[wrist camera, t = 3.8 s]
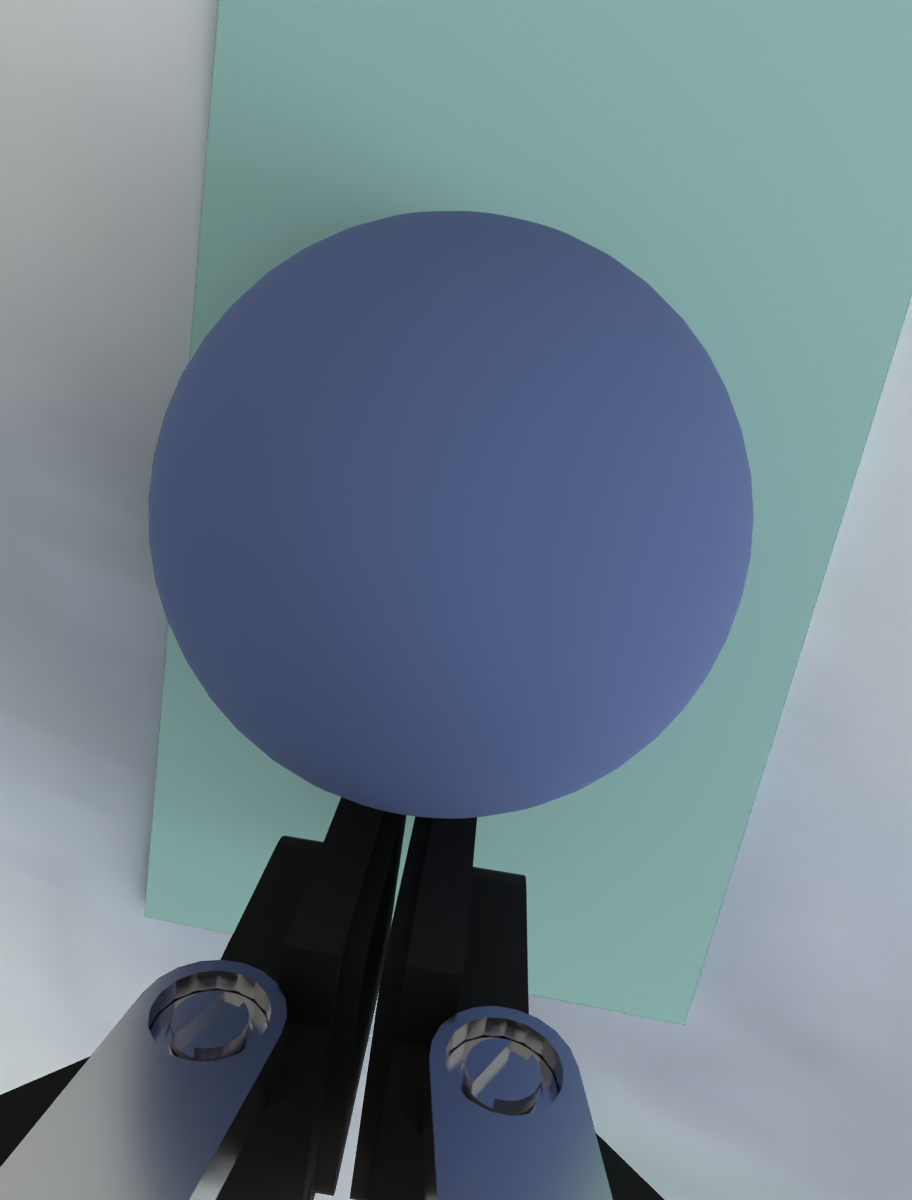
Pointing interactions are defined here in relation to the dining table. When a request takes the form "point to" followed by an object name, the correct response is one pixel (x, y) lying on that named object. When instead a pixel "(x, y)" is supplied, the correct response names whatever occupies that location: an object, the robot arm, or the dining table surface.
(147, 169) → the dining table surface
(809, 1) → the panel
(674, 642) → the ball
